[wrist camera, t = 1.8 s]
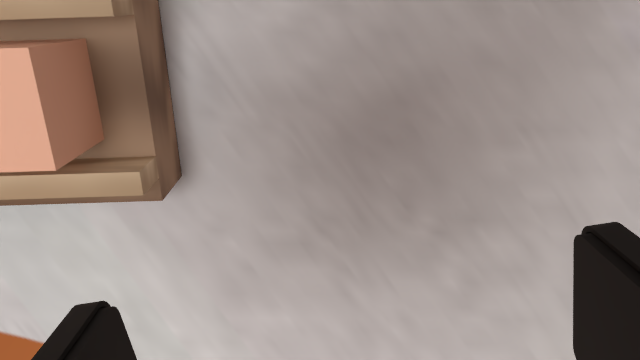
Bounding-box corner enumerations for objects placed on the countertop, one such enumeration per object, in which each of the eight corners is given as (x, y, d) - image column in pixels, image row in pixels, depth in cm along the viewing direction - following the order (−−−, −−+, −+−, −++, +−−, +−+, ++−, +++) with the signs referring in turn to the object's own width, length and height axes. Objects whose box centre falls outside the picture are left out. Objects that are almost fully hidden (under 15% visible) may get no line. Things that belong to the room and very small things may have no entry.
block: (-19, 41, 24) (-102, 51, 19) (85, 38, 24) (27, 47, 19) (7, 142, 25) (-63, 174, 21) (104, 139, 25) (56, 170, 21)
